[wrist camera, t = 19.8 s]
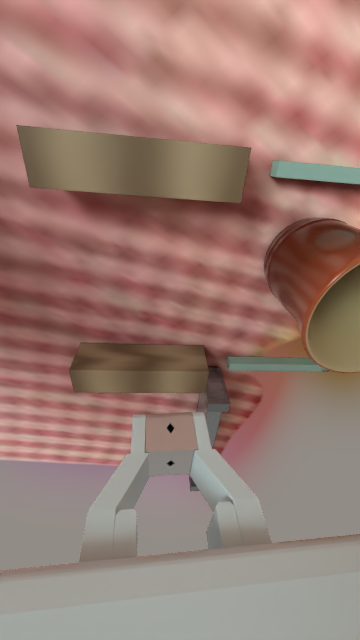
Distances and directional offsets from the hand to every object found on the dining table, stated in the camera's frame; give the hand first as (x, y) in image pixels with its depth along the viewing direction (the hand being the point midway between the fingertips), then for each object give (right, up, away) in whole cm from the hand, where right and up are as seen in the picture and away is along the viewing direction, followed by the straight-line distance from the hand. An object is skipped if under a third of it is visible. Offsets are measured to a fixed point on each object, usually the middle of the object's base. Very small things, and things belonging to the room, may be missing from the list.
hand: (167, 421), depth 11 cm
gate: (+3, -9, +24) cm, 25 cm away
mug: (+12, +9, +13) cm, 20 cm away
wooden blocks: (-3, +8, +12) cm, 15 cm away
